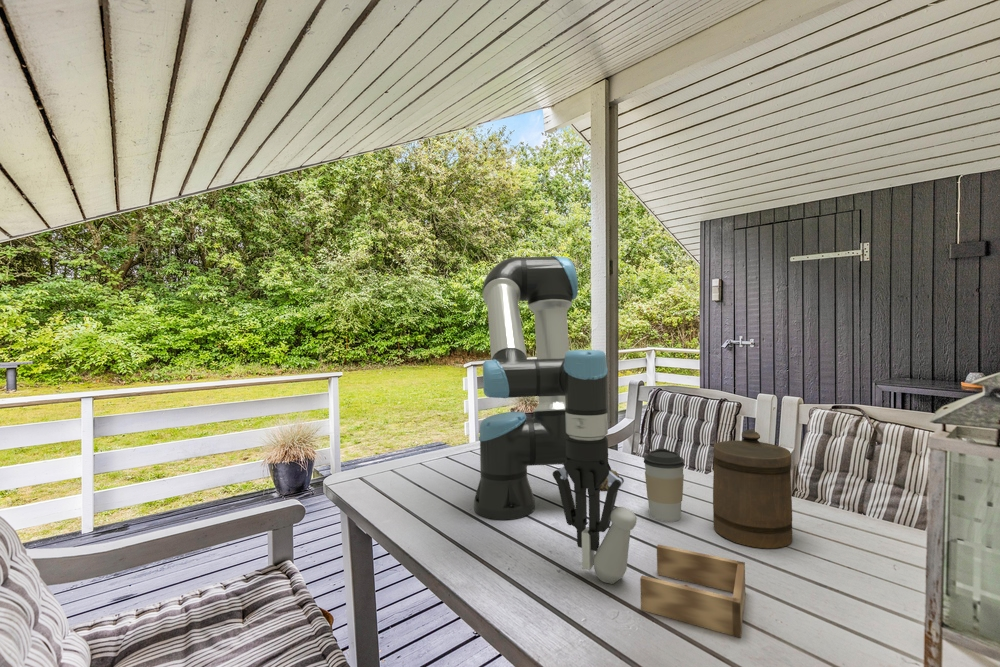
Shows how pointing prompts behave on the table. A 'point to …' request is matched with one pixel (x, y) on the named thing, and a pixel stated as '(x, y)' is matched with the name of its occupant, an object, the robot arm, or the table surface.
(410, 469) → the table surface
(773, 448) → the wooden container
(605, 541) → the salt shaker
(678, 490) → the coffee cup
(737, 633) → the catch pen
